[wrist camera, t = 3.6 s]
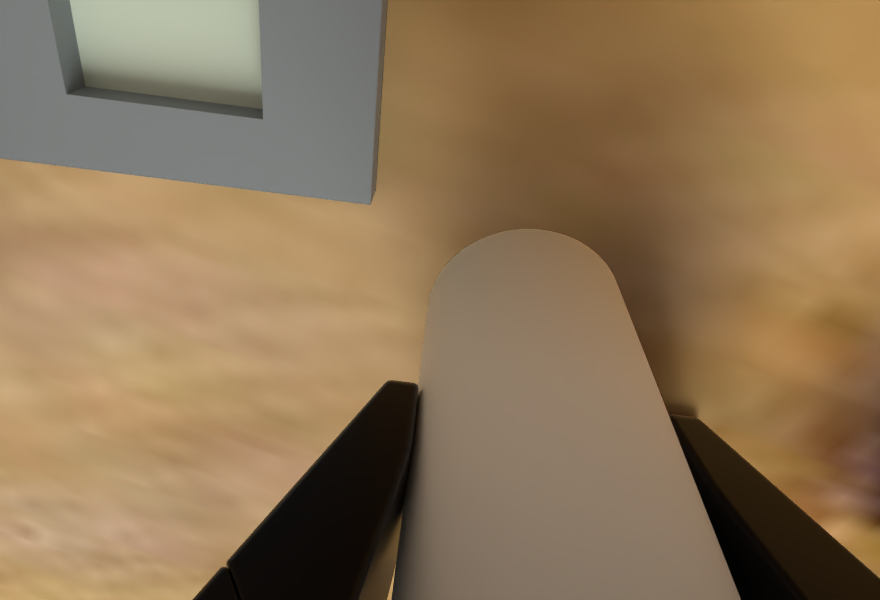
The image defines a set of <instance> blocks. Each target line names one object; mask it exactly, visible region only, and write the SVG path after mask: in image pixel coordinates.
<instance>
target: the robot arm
mask: <svg viewBox="0 0 880 600" xmlns="http://www.w3.org/2000/svg"><path fill="white" fill-rule="evenodd" d="M418 391H419V387H418V385H417V384H415V383H410V382H402V381H394V380H390V381H387V382H386V383H385V384H384V385H383V386H382V387H381V388H380V389H379V390H378V392H377V393H376V394H375V395H374V396H373V397H372V398H371V400H370V401H369V402H368V403H367V404H366V405H365V406H364V407H363V409H362V410H361V411H360V412H359V413H358V414H357V415H356V416H355V418H354V419H353V420H352V421H351V422H350V423H349V424H348V425H347V427H346V428H345V429H344V430H343V431H342V432H341V433H340V434H339V436H338V437H337V438H336V439H335V440H334V441H333V442H332V443H331V445H330V446H329V447H328V448H327V449H326V450H325V451H324V452H323V454H322V455H321V456H320V457H319V458H318V459H317V460H316V462H315V463H314V464H313V465H312V466H311V467H310V468H309V469H308V471H307V472H306V473H305V474H304V475H303V476H302V477H301V478H300V480H299V481H298V482H297V483H296V484H295V485H294V486H293V487H292V489H291V490H290V491H289V492H288V493H287V494H286V495H285V496H284V498H283V499H282V500H281V501H280V502H279V503H278V504H277V505H276V507H275V508H274V509H273V510H272V511H271V512H270V513H269V514H268V516H267V517H266V518H265V519H264V520H263V521H262V522H261V524H260V525H259V526H258V527H257V528H256V529H255V530H254V531H253V533H252V534H251V535H250V536H249V537H248V538H247V539H246V540H245V542H244V543H243V544H242V545H241V546H240V547H239V548H238V549H237V551H236V552H235V553H234V554H233V555H232V556H231V557H230V558H229V560H228V561H227V563H226V567H227V568H226V567H222V568H220V569H219V570H218V571H217V573H216V574H215V575H214V576H213V577H212V578H211V579H210V581H209V582H208V583H207V584H206V585H205V586H204V587H203V588H202V590H201V591H200V592H199V593H198V594H197V595H196V596H195V597H194V599H193V600H387V597H388V593H389V589H390V585H391V581H392V577H393V573H394V568H395V564H396V559H397V552H398V544H399V536H400V528H401V520H402V512H403V504H404V497H405V491H406V485H407V479H408V472H409V465H410V457H411V449H412V441H413V432H414V424H415V416H416V407H417V399H418ZM669 417H670V420H671V422H672V425H673V427H674V430H675V433H676V435H677V438H678V440H679V443H680V445H681V448H682V450H683V453H684V455H685V458H686V461H687V463H688V466H689V468H690V471H691V473H692V476H693V478H694V481H695V484H696V486H697V489H698V491H699V494H700V496H701V499H702V501H703V504H704V507H705V509H706V512H707V514H708V517H709V519H710V522H711V524H712V527H713V529H714V532H715V535H716V537H717V540H718V542H719V545H720V547H721V550H722V552H723V555H724V558H725V560H726V563H727V565H728V568H729V570H730V573H731V575H732V578H733V581H734V583H735V586H736V588H737V591H738V593H739V596H740V598H741V600H880V578H879V577H878V576H876V575H875V574H874V573H873V572H872V571H871V570H870V569H869V568H867V567H866V566H865V565H864V564H863V563H862V562H861V561H859V560H858V559H857V558H856V557H855V556H854V555H853V554H852V553H850V552H849V551H848V550H847V549H846V548H845V547H844V546H842V545H841V544H840V543H839V542H838V541H837V540H836V539H835V538H833V537H832V536H831V535H830V534H829V533H828V532H827V531H825V530H824V529H823V528H822V527H821V526H820V525H819V524H818V523H816V522H815V521H814V520H813V519H812V518H811V517H810V516H808V515H807V514H806V513H805V512H804V511H803V510H802V509H801V508H799V507H798V506H797V505H796V504H795V503H794V502H793V501H791V500H790V499H789V498H788V497H787V496H786V495H785V494H784V493H782V492H781V491H780V490H779V489H778V488H777V487H776V486H774V485H773V484H772V483H771V482H770V481H769V480H768V479H767V478H765V477H764V476H763V475H762V474H761V473H760V472H759V471H757V470H756V469H755V468H754V467H753V466H752V465H751V464H750V463H748V462H747V461H746V460H745V459H744V458H743V457H742V456H740V455H739V454H738V453H737V452H736V451H735V450H734V449H733V448H731V447H730V446H729V445H728V444H727V443H726V442H725V441H723V440H722V439H721V438H720V437H719V436H718V435H717V434H716V433H714V432H713V431H712V430H711V429H710V428H709V427H708V426H706V425H705V424H704V423H703V422H702V421H701V420H699V419H697V418H695V417H689V416H681V415H673V414H669Z"/></svg>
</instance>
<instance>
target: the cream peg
mask: <svg viewBox="0 0 880 600" xmlns="http://www.w3.org/2000/svg"><path fill="white" fill-rule="evenodd" d="M418 387H419V391H418V399H417V407H416V416H415V424H414V432H413V441H412V449H411V457H410V465H409V472H408V479H407V485H406V491H405V497H404V504H403V512H402V520H401V528H400V536H399V544H398V552H397V560H396V568H395V577H394V585H393V593H392V600H741V598H740V596H739V593H738V591H737V588H736V586H735V583H734V581H733V578H732V575H731V573H730V570H729V568H728V565H727V563H726V560H725V558H724V555H723V552H722V550H721V547H720V545H719V542H718V540H717V537H716V535H715V532H714V529H713V527H712V524H711V522H710V519H709V517H708V514H707V512H706V509H705V507H704V504H703V501H702V499H701V496H700V494H699V491H698V489H697V486H696V484H695V481H694V478H693V476H692V473H691V471H690V468H689V466H688V463H687V461H686V458H685V455H684V453H683V450H682V448H681V445H680V443H679V440H678V438H677V435H676V433H675V430H674V427H673V425H672V422H671V420H670V417H669V415H668V412H667V410H666V407H665V404H664V402H663V399H662V397H661V394H660V392H659V389H658V387H657V384H656V381H655V379H654V376H653V374H652V371H651V369H650V366H649V364H648V361H647V358H646V356H645V353H644V351H643V348H642V346H641V343H640V341H639V338H638V336H637V333H636V330H635V328H634V325H633V323H632V320H631V318H630V315H629V313H628V310H627V307H626V305H625V302H624V300H623V297H622V295H621V292H620V290H619V287H618V285H617V282H616V280H615V277H614V275H613V273H612V272H611V270H610V269H609V267H608V265H607V264H606V263H605V262H604V261H603V259H602V258H601V257H600V256H599V255H598V254H597V253H595V252H594V251H593V250H592V249H591V248H589V247H588V246H586V245H585V244H583V243H582V242H580V241H578V240H576V239H574V238H571V237H569V236H567V235H564V234H560V233H557V232H553V231H548V230H542V229H514V230H508V231H503V232H499V233H496V234H492V235H489V236H486V237H484V238H482V239H480V240H477V241H475V242H474V243H472V244H470V245H469V246H467V247H465V248H464V249H463V250H461V251H460V252H459V253H457V254H456V255H455V256H454V257H453V258H452V259H451V260H450V261H449V262H448V263H447V264H446V265H445V267H444V268H443V269H442V271H441V272H440V273H439V275H438V277H437V279H436V281H435V283H434V285H433V288H432V290H431V293H430V297H429V302H428V309H427V317H426V325H425V333H424V341H423V350H422V358H421V366H420V374H419V382H418Z"/></svg>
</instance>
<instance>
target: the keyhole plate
mask: <svg viewBox="0 0 880 600" xmlns="http://www.w3.org/2000/svg"><path fill="white" fill-rule="evenodd" d="M387 2H388V0H0V158H2V159H10V160H18V161H26V162H34V163H42V164H50V165H58V166H66V167H74V168H82V169H90V170H98V171H105V172H113V173H121V174H129V175H137V176H145V177H153V178H161V179H169V180H177V181H185V182H193V183H201V184H209V185H217V186H225V187H232V188H240V189H248V190H256V191H264V192H272V193H280V194H288V195H296V196H304V197H312V198H320V199H328V200H336V201H344V202H352V203H360V204H367V205H370V204H371V202H372V199H373V196H374V194H375V191H376V178H377V162H378V146H379V130H380V114H381V98H382V82H383V66H384V50H385V34H386V18H387Z"/></svg>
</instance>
